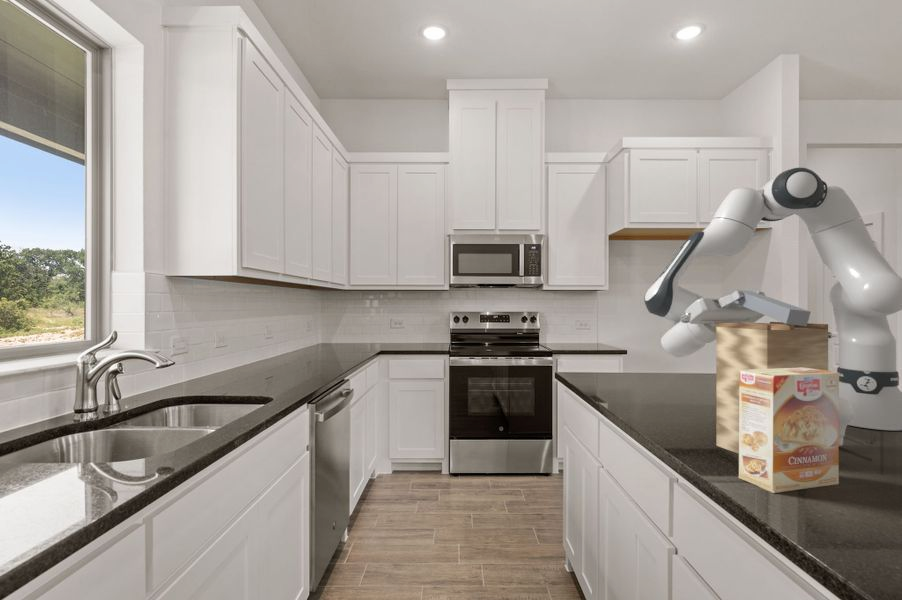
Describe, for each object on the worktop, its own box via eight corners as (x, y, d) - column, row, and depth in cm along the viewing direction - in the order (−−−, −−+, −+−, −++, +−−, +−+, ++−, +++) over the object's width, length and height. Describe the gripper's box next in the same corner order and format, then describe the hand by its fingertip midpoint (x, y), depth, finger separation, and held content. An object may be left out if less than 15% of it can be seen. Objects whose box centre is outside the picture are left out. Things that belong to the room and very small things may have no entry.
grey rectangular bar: (731, 301, 111) (734, 289, 110) (747, 303, 111) (751, 291, 110) (786, 323, 91) (790, 309, 91) (806, 326, 91) (810, 311, 91)
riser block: (716, 445, 101) (716, 322, 101) (772, 440, 105) (772, 321, 106) (767, 464, 90) (767, 324, 90) (828, 456, 94) (828, 324, 94)
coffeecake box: (774, 494, 75) (774, 374, 76) (736, 478, 82) (736, 368, 82) (841, 485, 79) (841, 371, 80) (800, 470, 86) (800, 366, 86)
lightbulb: (821, 448, 99) (820, 397, 99) (814, 441, 105) (814, 392, 105) (857, 453, 96) (857, 400, 96) (849, 445, 102) (849, 395, 102)
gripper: (671, 310, 117) (709, 281, 106) (735, 310, 123) (778, 283, 111) (680, 333, 114) (721, 305, 103) (746, 332, 120) (791, 305, 108)
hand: (751, 293), depth 107 cm, fingers closed on grey rectangular bar, 5 cm apart
